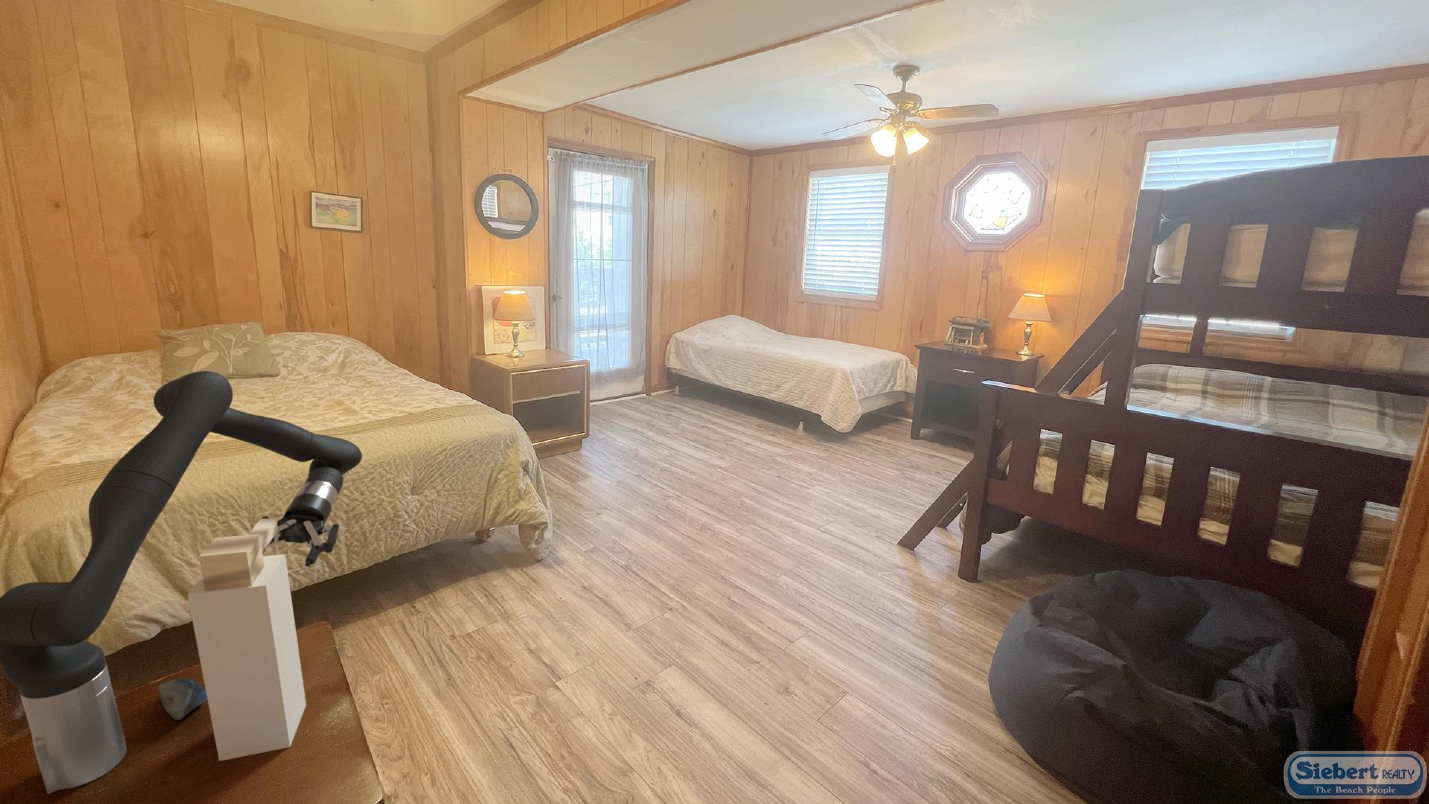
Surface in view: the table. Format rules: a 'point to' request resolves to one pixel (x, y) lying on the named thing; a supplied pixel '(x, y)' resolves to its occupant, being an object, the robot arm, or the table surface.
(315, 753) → the table surface
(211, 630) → the stand
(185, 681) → the blue rounded lump
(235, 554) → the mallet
